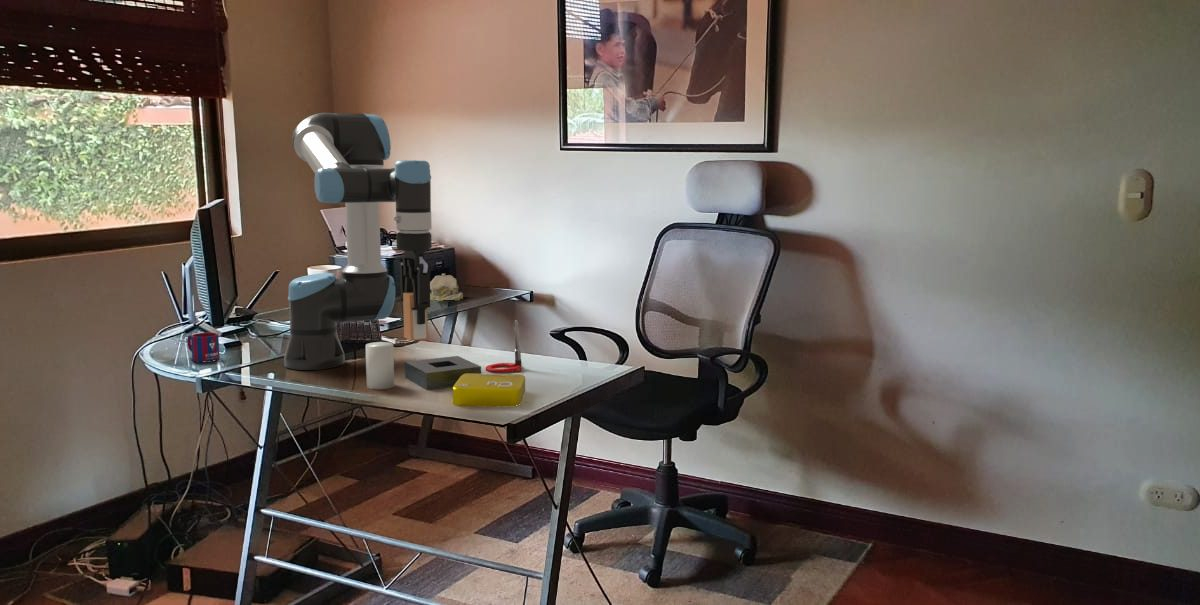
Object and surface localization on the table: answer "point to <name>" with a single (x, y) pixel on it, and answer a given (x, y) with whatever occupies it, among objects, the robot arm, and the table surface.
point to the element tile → (489, 390)
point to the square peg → (410, 316)
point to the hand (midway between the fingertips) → (415, 336)
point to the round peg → (380, 365)
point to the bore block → (439, 371)
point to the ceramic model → (444, 288)
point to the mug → (204, 346)
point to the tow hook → (513, 366)
